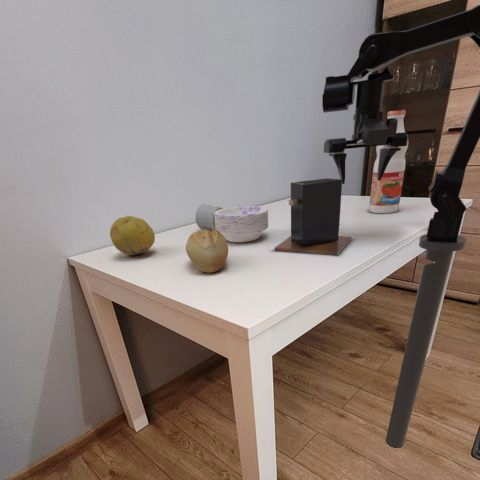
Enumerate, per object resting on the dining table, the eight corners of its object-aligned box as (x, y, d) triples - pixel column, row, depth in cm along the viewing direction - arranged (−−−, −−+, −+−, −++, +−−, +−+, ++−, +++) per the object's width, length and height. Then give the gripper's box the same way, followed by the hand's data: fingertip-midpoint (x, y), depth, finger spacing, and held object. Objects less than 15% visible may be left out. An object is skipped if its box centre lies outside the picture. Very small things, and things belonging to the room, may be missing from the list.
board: (351, 239, 90) (351, 236, 89) (337, 255, 80) (337, 252, 79) (294, 236, 97) (294, 233, 96) (274, 250, 87) (274, 247, 86)
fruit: (119, 264, 87) (108, 223, 82) (113, 253, 97) (103, 216, 91) (161, 255, 91) (153, 216, 86) (152, 246, 100) (144, 210, 95)
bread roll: (220, 253, 88) (217, 221, 84) (236, 270, 76) (233, 234, 72) (184, 259, 86) (178, 227, 82) (194, 278, 74) (188, 241, 70)
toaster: (325, 235, 92) (327, 177, 85) (338, 240, 86) (342, 178, 79) (285, 241, 90) (284, 182, 83) (296, 247, 84) (296, 184, 77)
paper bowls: (269, 230, 105) (268, 203, 100) (268, 244, 92) (267, 213, 88) (220, 233, 107) (218, 206, 102) (212, 247, 94) (209, 217, 90)
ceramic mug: (215, 233, 107) (213, 207, 103) (196, 231, 111) (193, 206, 107) (236, 226, 114) (234, 201, 110) (217, 224, 118) (215, 201, 114)
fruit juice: (381, 207, 121) (394, 111, 106) (404, 210, 114) (421, 108, 99) (362, 211, 117) (373, 113, 102) (384, 215, 110) (399, 109, 95)
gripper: (338, 109, 72) (333, 189, 80) (426, 101, 72) (412, 182, 80) (324, 112, 82) (321, 184, 90) (402, 105, 81) (392, 177, 90)
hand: (361, 182), depth 87 cm, fingers open, 9 cm apart
